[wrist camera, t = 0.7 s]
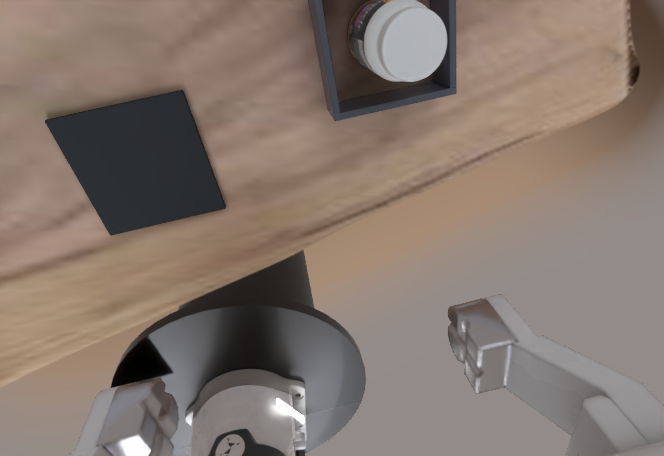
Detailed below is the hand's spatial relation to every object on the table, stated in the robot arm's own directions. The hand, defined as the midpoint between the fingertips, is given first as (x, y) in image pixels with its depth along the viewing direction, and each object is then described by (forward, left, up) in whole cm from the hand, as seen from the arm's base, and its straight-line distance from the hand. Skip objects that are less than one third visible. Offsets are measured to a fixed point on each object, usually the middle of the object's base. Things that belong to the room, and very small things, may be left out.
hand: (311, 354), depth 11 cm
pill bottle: (+4, -11, -30) cm, 32 cm away
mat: (-3, +13, -30) cm, 33 cm away
